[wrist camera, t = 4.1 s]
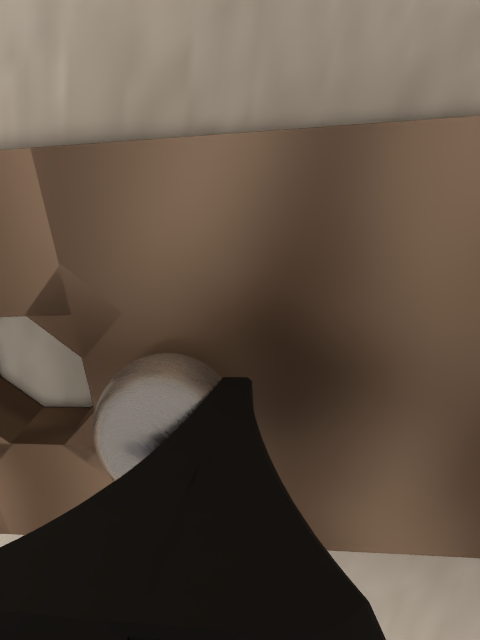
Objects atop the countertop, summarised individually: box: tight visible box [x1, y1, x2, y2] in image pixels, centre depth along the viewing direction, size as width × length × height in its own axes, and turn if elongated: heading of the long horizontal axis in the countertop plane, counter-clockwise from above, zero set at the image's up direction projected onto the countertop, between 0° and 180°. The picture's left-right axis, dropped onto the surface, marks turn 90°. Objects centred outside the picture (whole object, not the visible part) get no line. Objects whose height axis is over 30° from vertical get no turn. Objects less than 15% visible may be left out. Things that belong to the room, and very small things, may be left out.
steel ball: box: [93, 353, 222, 480], centre depth 10 cm, size 4×4×4 cm
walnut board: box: [0, 116, 480, 558], centre depth 13 cm, size 19×13×2 cm
